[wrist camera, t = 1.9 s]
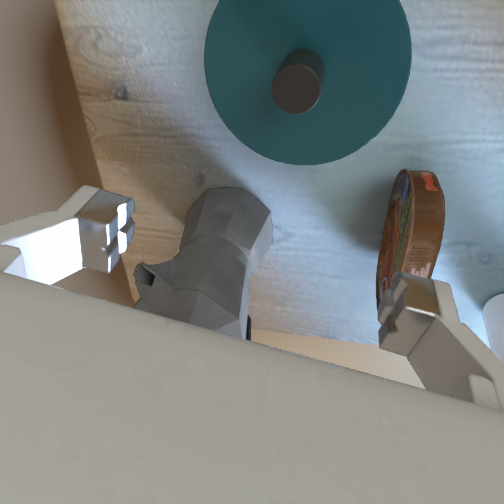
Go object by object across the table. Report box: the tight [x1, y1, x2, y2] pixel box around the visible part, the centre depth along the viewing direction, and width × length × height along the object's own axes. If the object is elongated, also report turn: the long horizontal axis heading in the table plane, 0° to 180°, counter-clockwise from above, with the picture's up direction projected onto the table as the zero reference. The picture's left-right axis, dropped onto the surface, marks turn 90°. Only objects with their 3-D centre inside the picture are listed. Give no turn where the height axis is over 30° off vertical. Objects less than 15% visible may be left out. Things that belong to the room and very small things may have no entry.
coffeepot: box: [132, 187, 273, 341], centre depth 38 cm, size 15×9×18 cm, turn 29°
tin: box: [376, 169, 445, 311], centre depth 37 cm, size 15×3×8 cm, turn 1°
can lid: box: [204, 0, 411, 165], centre depth 22 cm, size 11×11×4 cm
